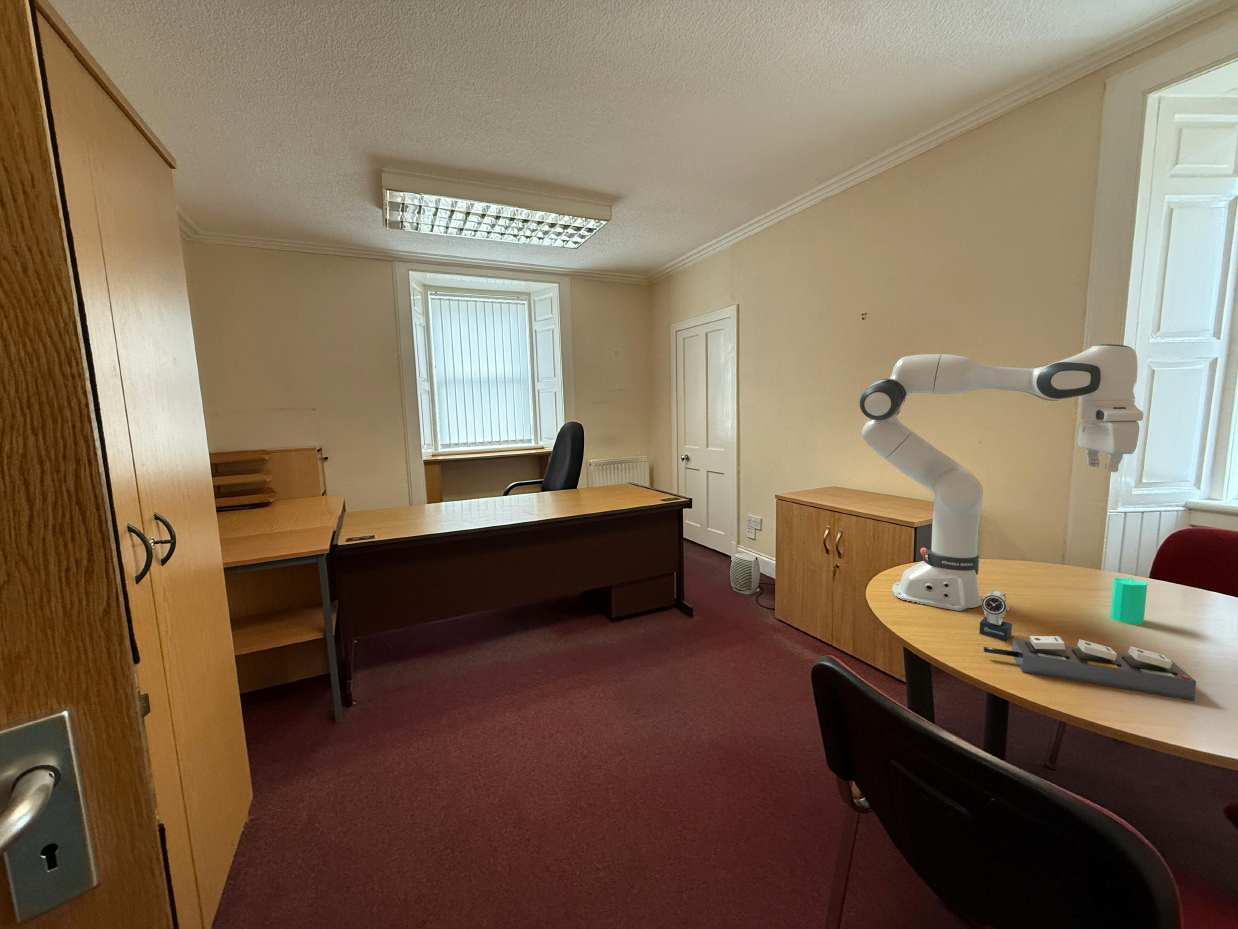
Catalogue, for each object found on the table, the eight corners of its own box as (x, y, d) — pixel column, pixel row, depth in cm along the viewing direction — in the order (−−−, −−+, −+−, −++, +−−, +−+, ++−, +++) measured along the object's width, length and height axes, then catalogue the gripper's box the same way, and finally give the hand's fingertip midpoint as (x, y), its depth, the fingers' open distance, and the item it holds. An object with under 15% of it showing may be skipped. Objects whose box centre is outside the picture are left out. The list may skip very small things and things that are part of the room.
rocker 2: (1083, 652, 100) (1085, 645, 100) (1077, 645, 103) (1079, 638, 102) (1115, 660, 98) (1117, 654, 98) (1107, 653, 101) (1110, 647, 100)
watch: (977, 636, 119) (979, 594, 118) (986, 626, 124) (988, 585, 123) (1005, 644, 115) (1007, 600, 114) (1013, 633, 120) (1016, 591, 119)
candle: (1150, 625, 121) (1155, 580, 120) (1122, 624, 122) (1126, 579, 121) (1130, 615, 127) (1134, 571, 125) (1104, 614, 128) (1107, 571, 127)
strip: (987, 666, 106) (988, 648, 105) (979, 649, 113) (980, 632, 112) (1194, 700, 91) (1196, 679, 91) (1170, 679, 98) (1172, 659, 98)
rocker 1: (1035, 648, 104) (1034, 642, 103) (1030, 642, 106) (1029, 635, 106) (1065, 649, 101) (1064, 642, 101) (1059, 642, 104) (1058, 636, 104)
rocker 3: (1136, 659, 96) (1138, 653, 96) (1128, 652, 99) (1130, 645, 99) (1169, 668, 94) (1172, 662, 94) (1160, 660, 97) (1163, 654, 97)
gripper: (1071, 411, 125) (1067, 463, 127) (1109, 413, 107) (1104, 474, 109) (1104, 411, 123) (1099, 464, 124) (1148, 413, 104) (1142, 475, 106)
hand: (1101, 469), depth 116 cm, fingers open, 8 cm apart
